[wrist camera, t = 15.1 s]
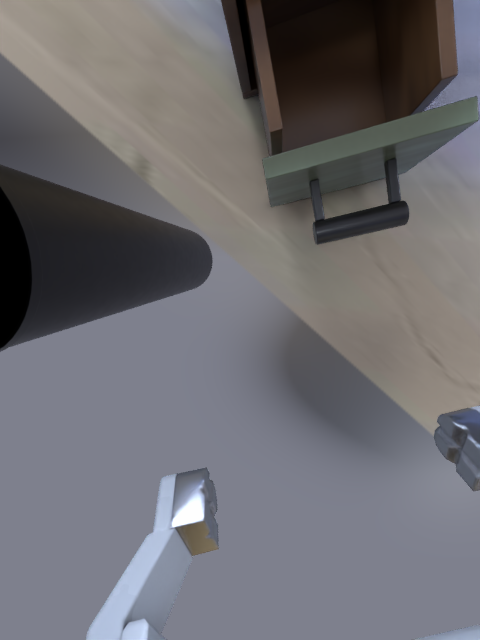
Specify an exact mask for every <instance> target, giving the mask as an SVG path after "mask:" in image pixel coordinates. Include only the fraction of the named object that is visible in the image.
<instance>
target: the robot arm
mask: <svg viewBox="0 0 480 640" xmlns="http://www.w3.org/2000/svg"><path fill="white" fill-rule="evenodd" d="M437 422H438V424H439V425H440V426H439V427H438V428H437V429H436V430H435V433H434V439H435V443H436V446H437V447H438V449H439V450H440V452H441V453H442V455H443V456H444V457H445V458H446V459H447V460H449V461H451V462H453V463H455V464H456V471H457V473H458V474H459V475H460V476H461V477H462V479H463V480H464V481H465V482H466V483H467V484H468V486H469V487H470V488H471V489H472V490H473V491H478V490H480V406H476V407H471V408H465V409H461V410H457V411H453V412H449V413H445V414H441V415H440V416H439V417H438V420H437ZM216 512H217V498H216V491H215V487H214V483H213V481H212V480H210V479H209V471H208V469H207V468H202V469H197V470H193V471H188V472H183V473H179V474H178V473H177V474H173V475H169V476H164V477H162V480H161V482H160V488H159V494H158V501H157V509H156V515H155V521H154V528H153V533H150V534H148V535H147V537H146V539H145V540H144V542H143V543H142V545H141V546H140V548H139V550H138V551H137V553H136V554H135V556H134V557H133V559H132V561H131V562H130V564H129V565H128V567H127V569H126V570H125V572H124V573H123V575H122V577H121V578H120V580H119V581H118V583H117V584H116V586H115V588H114V589H113V591H112V592H111V594H110V596H109V597H108V599H107V600H106V602H105V604H104V605H103V607H102V608H101V610H100V612H99V613H98V615H97V616H96V618H95V620H94V621H93V623H92V624H91V626H90V628H89V629H88V633H87V637H86V640H167V639H166V638H165V637H164V636H162V634H161V633H162V631H163V628H164V626H165V624H166V621H167V619H168V616H169V614H170V612H171V609H172V607H173V605H174V602H175V600H176V597H177V595H178V593H179V590H180V588H181V585H182V583H183V581H184V578H185V576H186V573H187V571H188V569H189V566H190V564H191V561H192V559H193V557H192V556H193V555H198V554H201V553H205V552H209V551H213V550H217V549H219V548H218V525H217V522H216V520H215V518H214V516H215V514H216ZM413 640H480V624H479V625H474V626H470V627H466V628H461V629H457V630H452V631H448V632H444V633H439V634H435V635H431V636H427V637H422V638H418V639H413Z"/></svg>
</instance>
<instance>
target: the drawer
mask: <svg viewBox="0 0 480 640" xmlns="http://www.w3.org/2000/svg"><path fill="white" fill-rule="evenodd" d="M242 1H243V8H244V15H245V22H246V29H247V35H248V40H249V46H250V51H251V57H252V62H253V68H254V73H255V79H256V84H257V90H258V95H259V101H260V106H261V112H262V117H263V123H264V128H265V134H266V139H267V144H268V150H269V155H270V157H267V158H263V159H262V161H263V167H264V172H265V178H266V184H267V189H268V195H269V200H270V205H271V207H274V206H278V205H282V204H286V203H290V202H294V201H298V200H301V199H305V198H309V197H311V199H312V205H313V211H314V217H315V222H313V235H314V240H315V243H316V244H317V245H318V244H323V243H327V242H331V241H336V240H340V239H345V238H349V237H353V236H358V235H362V234H367V233H371V232H375V231H380V230H384V229H389V228H393V227H397V226H402V225H405V224H406V223H407V222H408V219H409V208H408V205H407V203H406V202H405V201H400V200H401V196H400V187H399V178H398V174H402V173H405V172H407V171H408V170H410V169H411V168H412V167H414V166H415V165H417V164H418V163H419V162H421V161H422V160H424V159H425V158H426V157H428V156H429V155H431V154H432V153H433V152H435V151H436V150H438V149H439V148H440V147H442V146H443V145H445V144H446V143H447V142H449V141H450V140H452V139H453V138H454V137H456V136H457V135H459V134H460V133H461V132H463V131H464V130H466V129H467V128H468V127H470V126H471V125H473V124H474V123H475V122H477V121H478V119H479V117H478V100H477V96H475V97H472V98H468V99H465V100H461V101H458V102H455V103H451V104H448V105H444V106H441V107H438V108H434V109H431V110H427V111H424V110H425V108H426V107H427V106H428V105H429V104H430V103H431V102H432V101H433V100H434V99H435V98H436V97H437V96H438V95H439V94H440V93H441V92H442V91H443V89H444V88H445V87H446V86H447V85H448V84H449V83H450V82H451V81H452V80H453V79H454V78H455V77H456V76H457V74H458V68H457V53H456V39H455V24H454V10H453V0H242ZM423 111H424V112H423ZM383 178H386V184H387V192H388V201H389V204H386V205H382V206H378V207H374V208H370V209H366V210H362V211H357V212H353V213H349V214H345V215H341V216H337V217H333V218H328V219H324V211H323V205H322V198H321V194H325V193H328V192H332V191H336V190H340V189H344V188H348V187H352V186H356V185H359V184H363V183H367V182H371V181H375V180H379V179H383Z"/></svg>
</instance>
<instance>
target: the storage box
mask: <svg viewBox="0 0 480 640" xmlns="http://www.w3.org/2000/svg"><path fill="white" fill-rule="evenodd" d="M221 2H222V7H223V11H224V15H225V20H226V24H227V29H228V33H229V37H230V42H231V46H232V51H233V55H234V59H235V64H236V68H237V73H238V77H239V81H240V86H241V90H242V95H243V98H244V99H245V98H248V97H251V96H254V95H257V94H258V90H257V84H256V79H255V73H254V68H253V62H252V57H251V51H250V46H249V40H248V35H247V29H246V22H245V15H244V8H243V1H242V0H221Z"/></svg>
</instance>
